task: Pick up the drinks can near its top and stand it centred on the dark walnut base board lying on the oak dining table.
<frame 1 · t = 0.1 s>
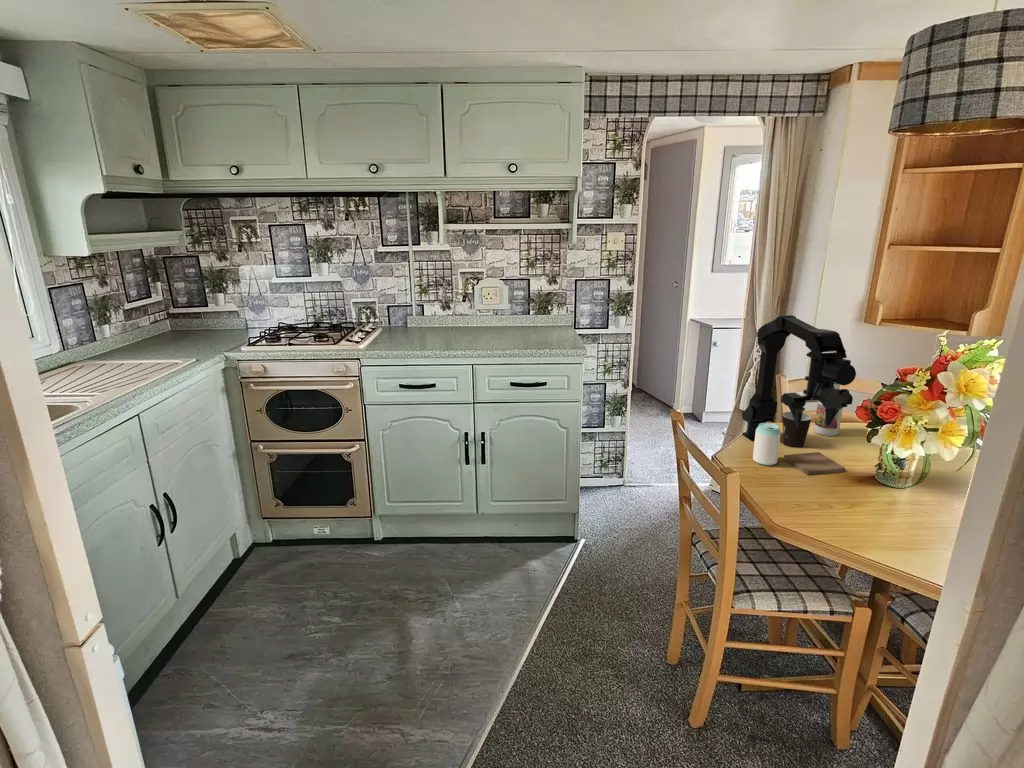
hand: (812, 426, 167), 15 cm above the table, fingers open, 9 cm apart
coffee mug: (794, 443, 192), on the table
milk bottle: (826, 433, 200), on the table
base board: (813, 464, 176), on the table
can: (764, 462, 179), on the table
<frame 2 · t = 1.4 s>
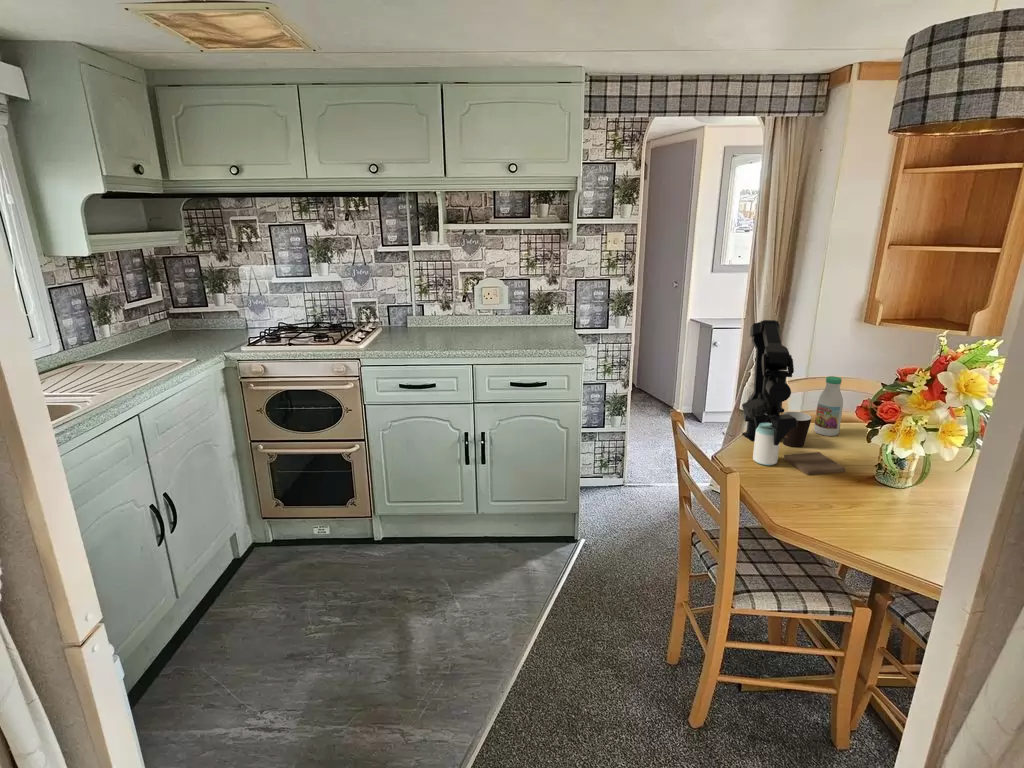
hand: (767, 439, 176), 7 cm above the table, fingers open, 9 cm apart
nothing on the table moved.
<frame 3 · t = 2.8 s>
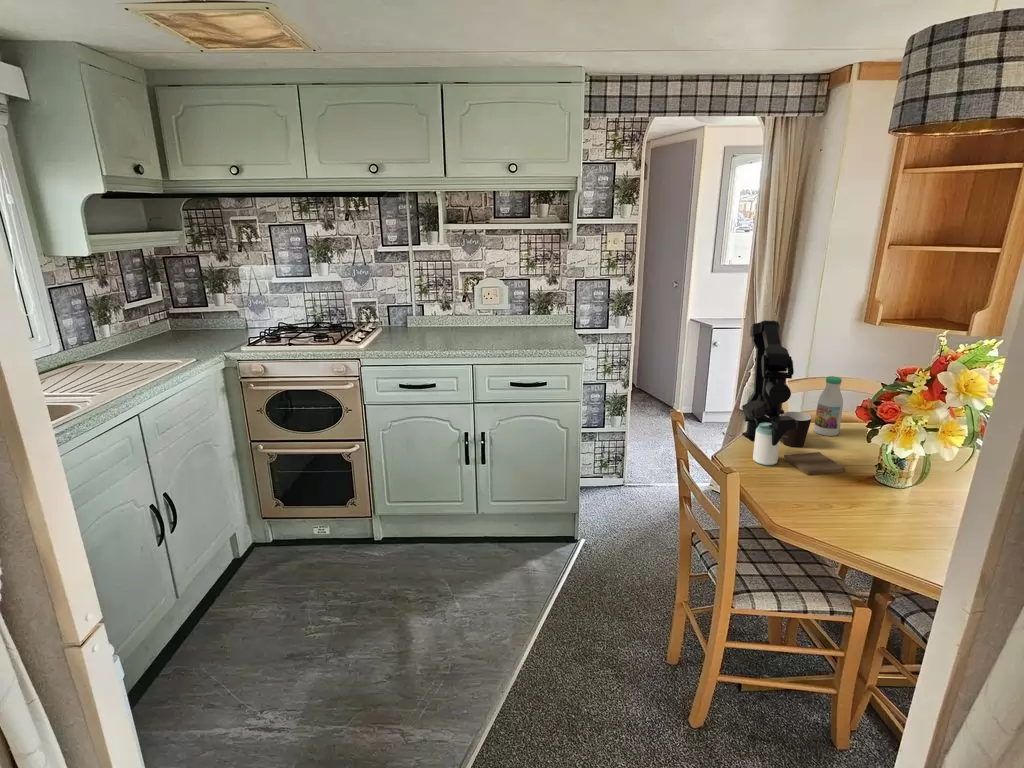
hand: (767, 440, 176), 7 cm above the table, fingers closed on can, 7 cm apart
can: (764, 462, 179), on the table, touching gripper
everything else where it was.
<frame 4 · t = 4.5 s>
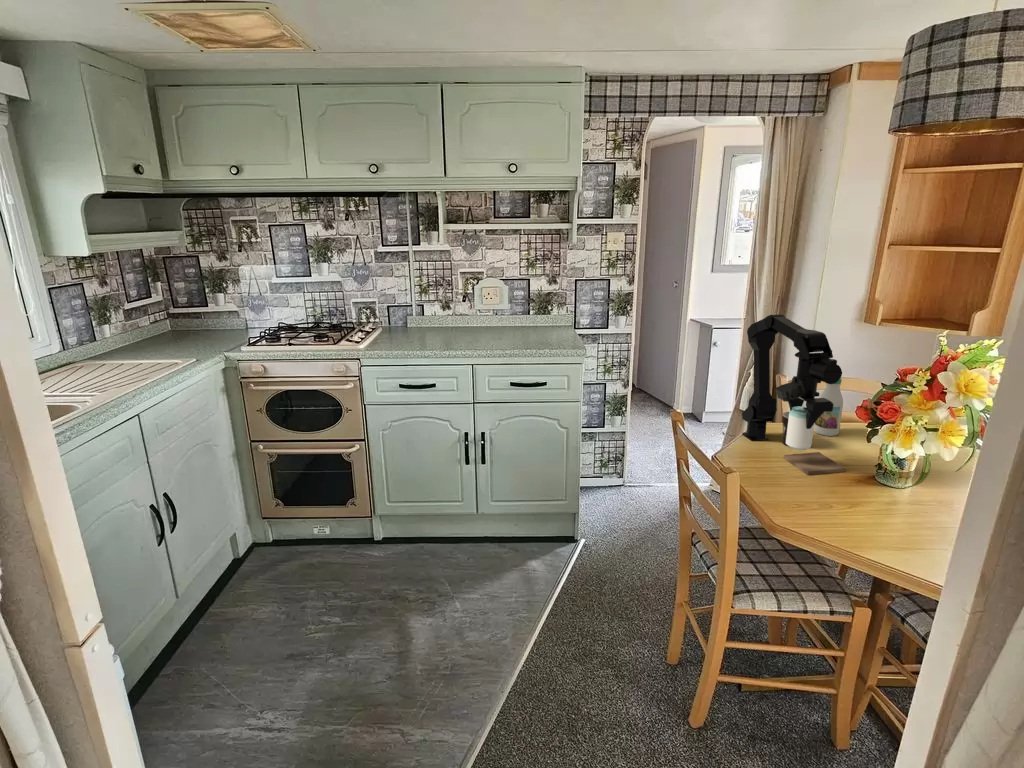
hand: (801, 424, 173), 13 cm above the table, fingers closed on can, 7 cm apart
can: (797, 446, 175), point 6 cm above the table, touching gripper
everything else where it was.
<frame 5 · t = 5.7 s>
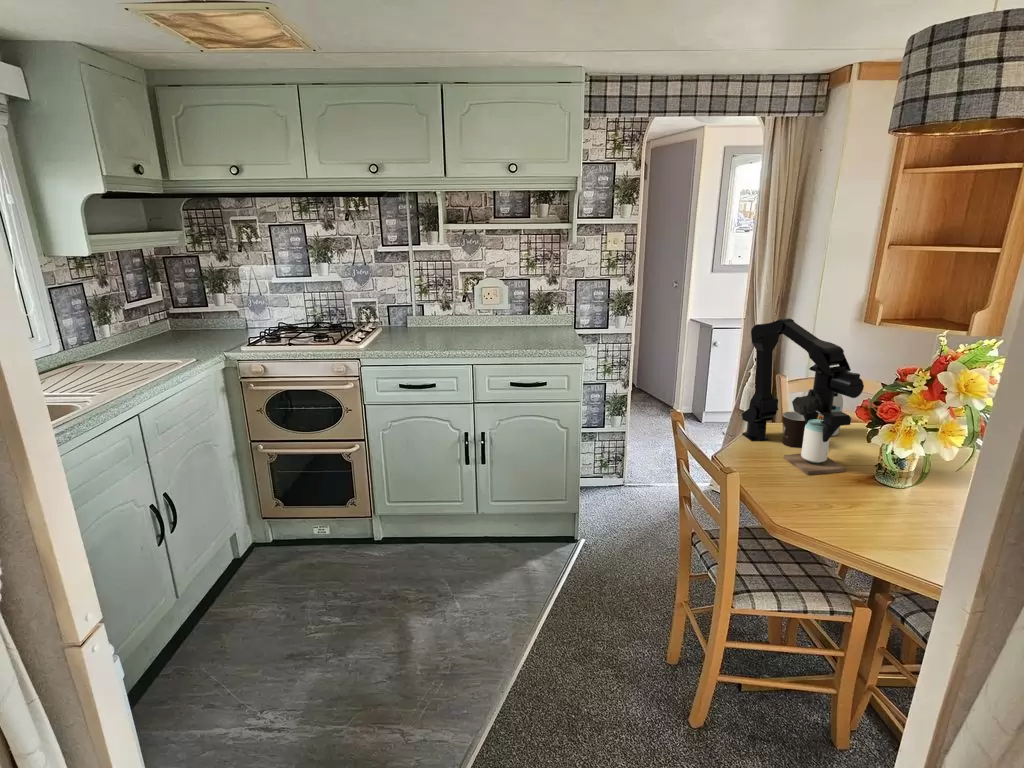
hand: (816, 437, 173), 9 cm above the table, fingers closed on can, 7 cm apart
can: (813, 459, 175), point 2 cm above the table, touching gripper
everything else where it was.
when the fingers open (9 cm above the table, at t = 6.7 s): can stays where it is, resting on base board.
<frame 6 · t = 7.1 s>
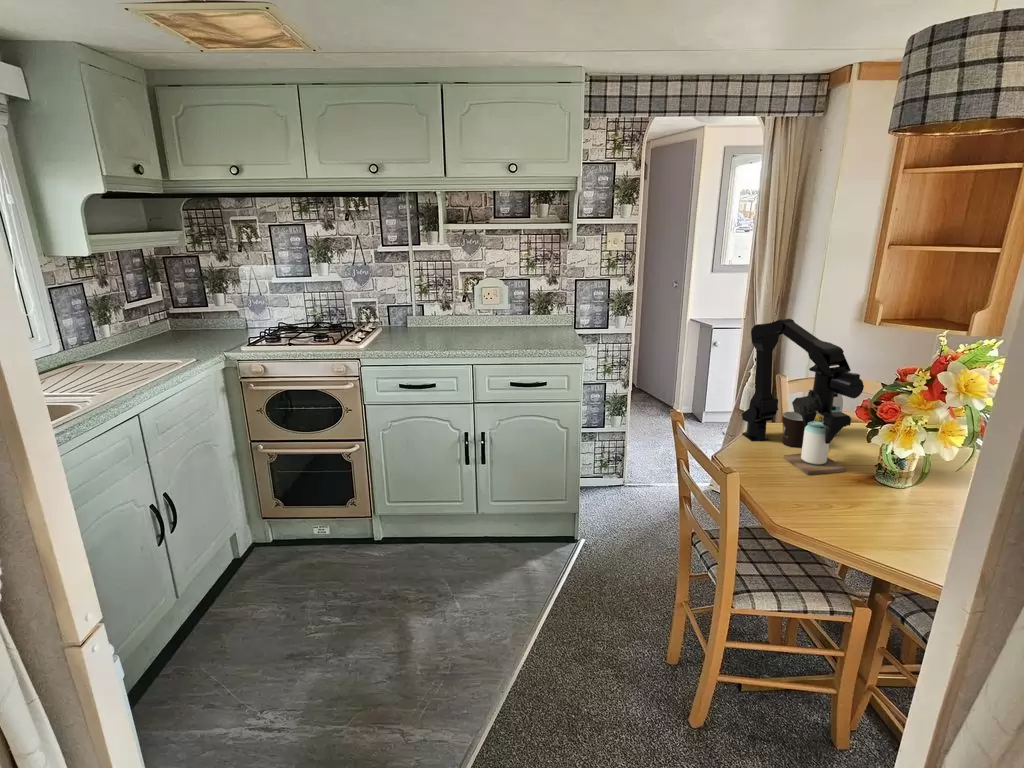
hand: (817, 437, 173), 9 cm above the table, fingers open, 9 cm apart
can: (813, 461, 175), point 1 cm above the table, touching base board
everything else where it was.
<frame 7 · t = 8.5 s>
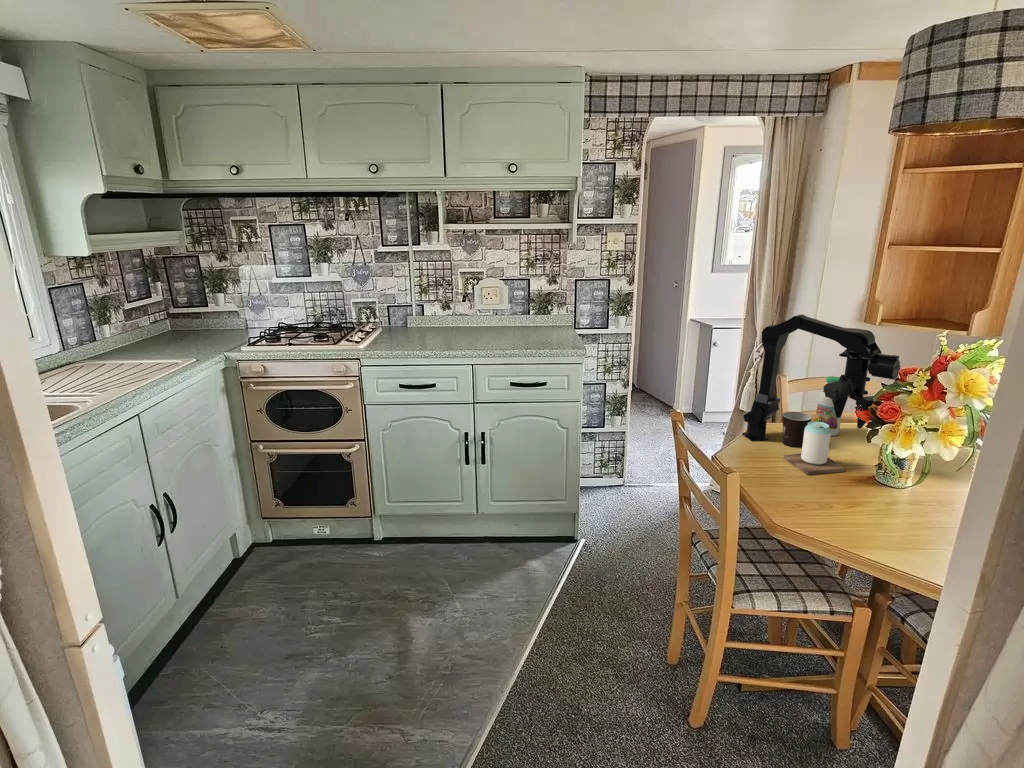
hand: (848, 422, 173), 13 cm above the table, fingers open, 9 cm apart
nothing on the table moved.
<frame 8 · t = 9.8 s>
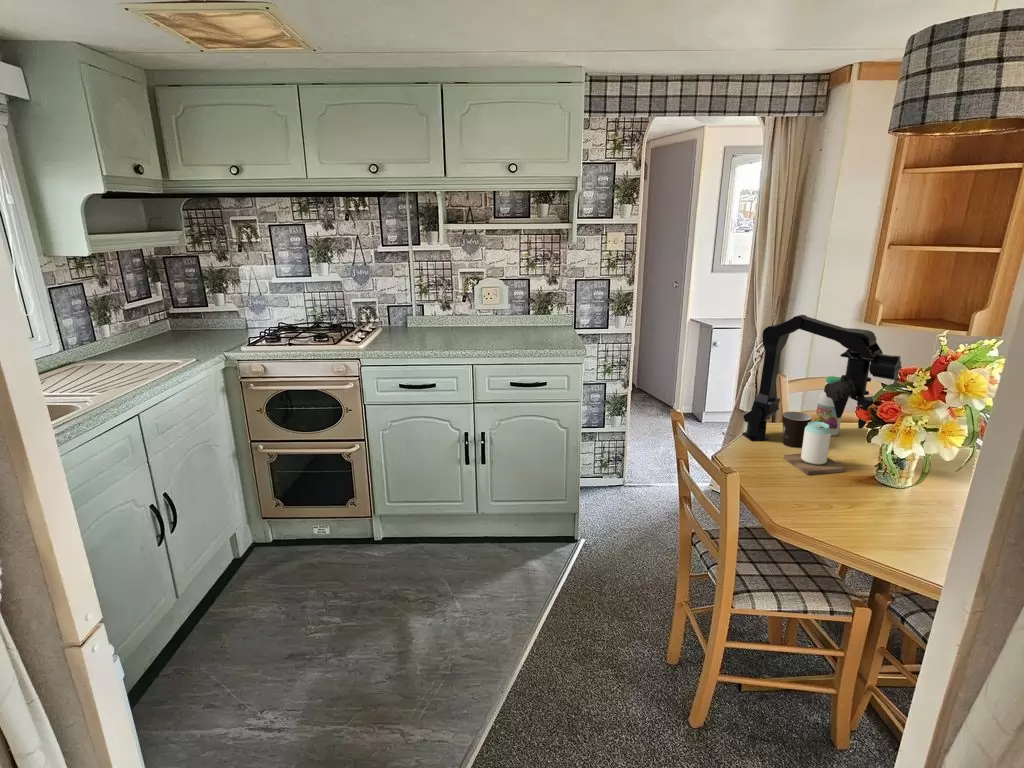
hand: (849, 422, 173), 13 cm above the table, fingers open, 9 cm apart
nothing on the table moved.
at the end: can 0.1 cm from the base board (horizontally); can touching base board; can tilted 0° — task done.
